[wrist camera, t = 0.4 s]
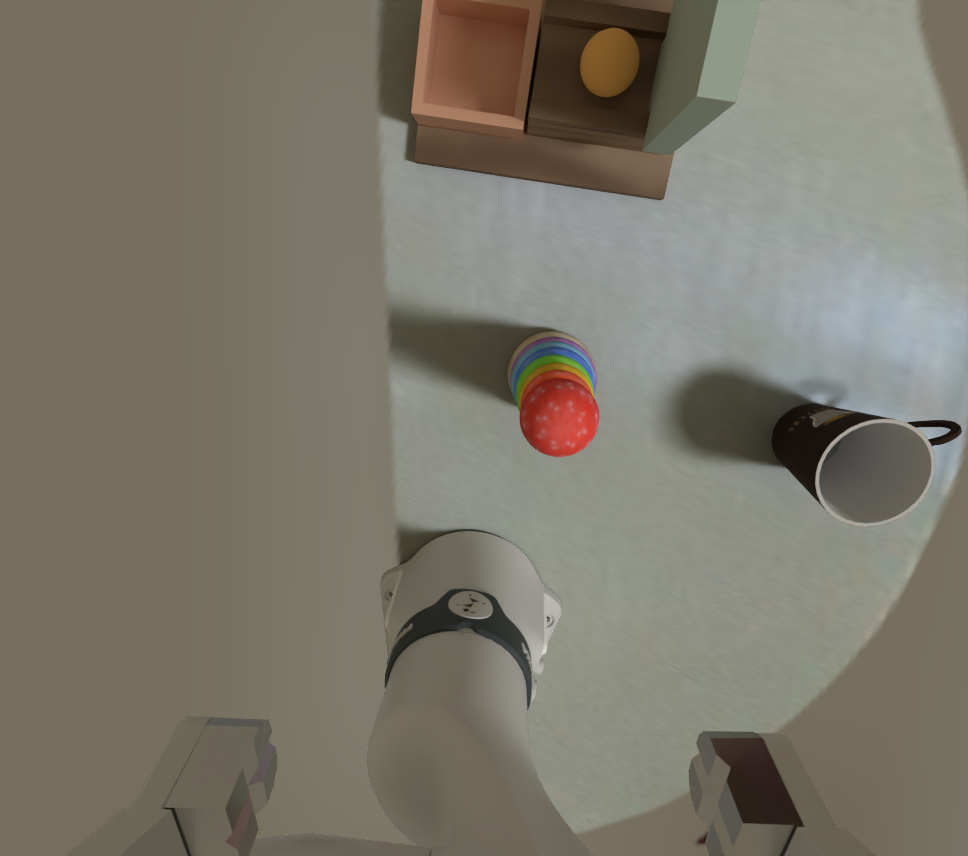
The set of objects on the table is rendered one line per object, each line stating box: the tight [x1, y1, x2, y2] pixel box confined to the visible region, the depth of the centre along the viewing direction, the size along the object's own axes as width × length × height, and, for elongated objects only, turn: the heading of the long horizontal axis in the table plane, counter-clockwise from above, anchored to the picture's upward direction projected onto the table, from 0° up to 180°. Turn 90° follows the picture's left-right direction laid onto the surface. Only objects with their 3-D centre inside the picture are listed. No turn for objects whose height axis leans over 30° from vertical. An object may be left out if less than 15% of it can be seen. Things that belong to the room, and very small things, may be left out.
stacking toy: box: [508, 331, 599, 457], centre depth 42 cm, size 8×8×19 cm
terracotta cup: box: [411, 0, 543, 141], centre depth 42 cm, size 9×9×4 cm
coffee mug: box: [772, 404, 962, 527], centre depth 46 cm, size 12×9×10 cm
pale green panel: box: [642, 0, 761, 155], centre depth 33 cm, size 10×2×14 cm, turn 171°
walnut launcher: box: [414, 0, 674, 200], centre depth 42 cm, size 14×21×6 cm, turn 81°
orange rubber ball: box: [580, 28, 640, 97], centre depth 38 cm, size 4×4×4 cm
